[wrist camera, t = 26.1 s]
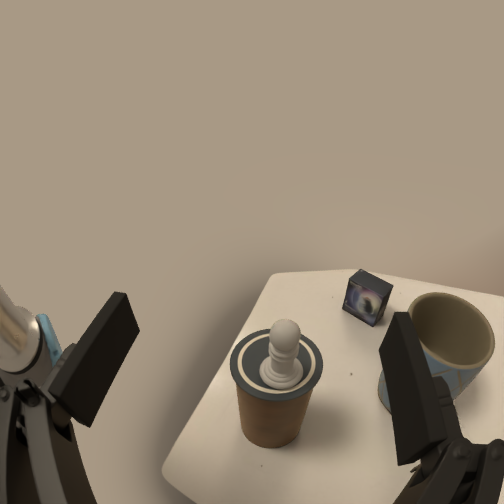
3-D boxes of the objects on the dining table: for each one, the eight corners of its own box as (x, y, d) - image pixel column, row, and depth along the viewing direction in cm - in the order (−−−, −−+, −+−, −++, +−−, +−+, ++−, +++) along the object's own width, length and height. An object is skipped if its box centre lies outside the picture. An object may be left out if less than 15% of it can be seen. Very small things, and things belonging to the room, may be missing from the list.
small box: (340, 309, 70) (347, 277, 65) (353, 298, 74) (360, 267, 69) (372, 328, 64) (383, 296, 58) (383, 315, 67) (394, 284, 62)
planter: (401, 345, 57) (430, 279, 47) (458, 383, 44) (501, 321, 34) (356, 394, 48) (388, 328, 38) (423, 443, 34) (480, 388, 24)
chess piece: (295, 395, 29) (305, 348, 24) (253, 383, 30) (251, 334, 26) (307, 362, 33) (317, 312, 28) (267, 352, 35) (269, 301, 30)
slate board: (237, 410, 28) (237, 408, 27) (224, 336, 38) (224, 334, 38) (335, 389, 29) (336, 387, 29) (305, 324, 40) (306, 321, 39)
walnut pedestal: (246, 453, 38) (241, 405, 28) (236, 403, 48) (228, 338, 37) (307, 440, 40) (330, 387, 30) (291, 394, 49) (303, 327, 39)
